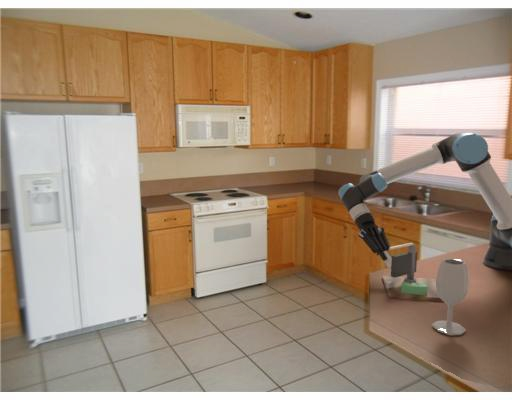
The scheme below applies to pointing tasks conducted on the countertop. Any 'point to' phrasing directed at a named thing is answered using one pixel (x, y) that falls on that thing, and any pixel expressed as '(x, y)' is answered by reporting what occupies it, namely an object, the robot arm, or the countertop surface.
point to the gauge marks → (410, 287)
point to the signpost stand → (404, 263)
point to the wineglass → (451, 292)
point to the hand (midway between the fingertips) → (392, 266)
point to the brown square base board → (396, 293)
